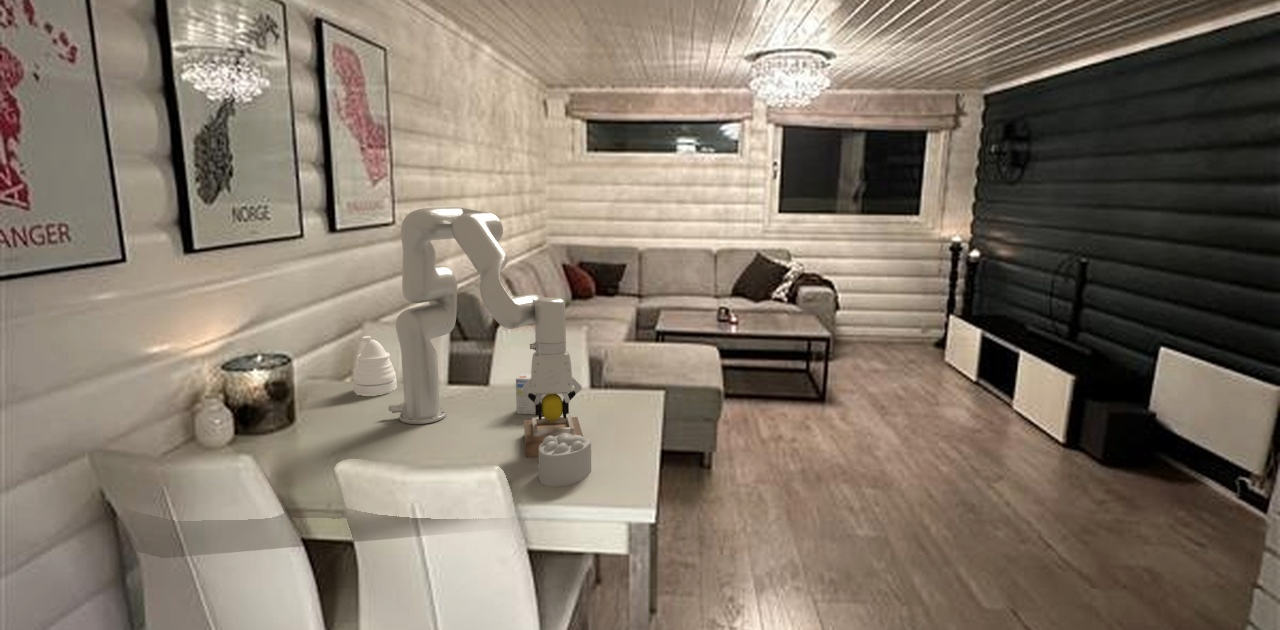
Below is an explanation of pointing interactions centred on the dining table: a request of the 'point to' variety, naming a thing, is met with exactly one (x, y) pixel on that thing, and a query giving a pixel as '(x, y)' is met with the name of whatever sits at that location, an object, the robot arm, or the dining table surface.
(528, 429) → the walnut plinth
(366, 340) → the honey pot
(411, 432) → the dining table surface
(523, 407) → the light bulb box
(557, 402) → the lemon
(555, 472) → the lumpy-topped squat cylinder
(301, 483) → the dining table surface
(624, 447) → the dining table surface
